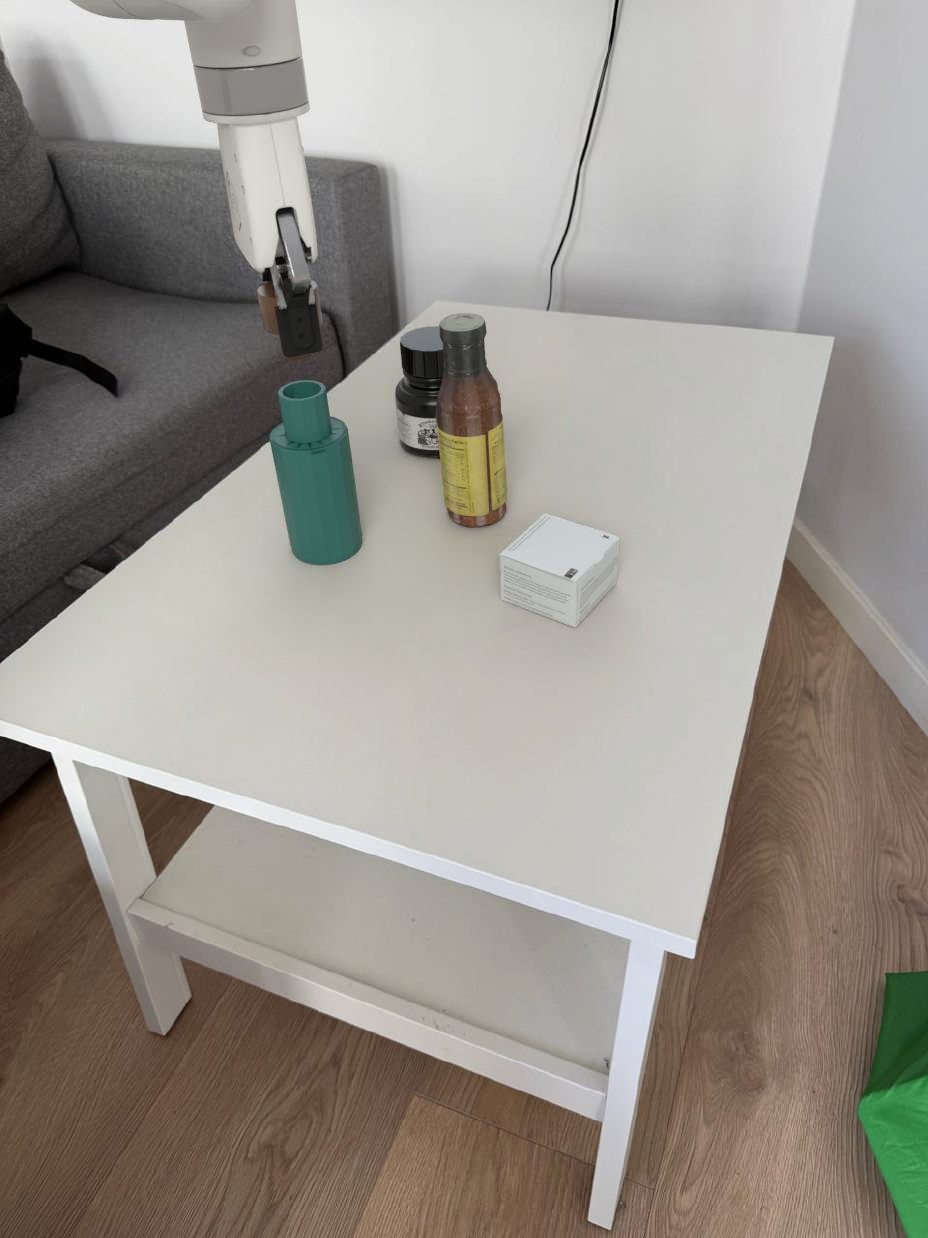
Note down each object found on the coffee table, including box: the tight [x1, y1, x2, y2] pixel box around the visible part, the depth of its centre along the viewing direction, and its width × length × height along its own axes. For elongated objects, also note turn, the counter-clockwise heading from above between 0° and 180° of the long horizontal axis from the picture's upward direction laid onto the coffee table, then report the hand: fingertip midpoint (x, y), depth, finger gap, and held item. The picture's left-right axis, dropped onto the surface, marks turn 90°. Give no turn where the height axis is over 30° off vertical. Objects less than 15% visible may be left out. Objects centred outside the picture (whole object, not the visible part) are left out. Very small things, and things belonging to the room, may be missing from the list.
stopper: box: [256, 278, 323, 361], centre depth 75 cm, size 5×5×6 cm
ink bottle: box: [394, 325, 444, 458], centre depth 100 cm, size 10×9×12 cm
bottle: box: [268, 379, 363, 566], centre depth 83 cm, size 7×7×16 cm
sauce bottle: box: [436, 312, 508, 528], centre depth 85 cm, size 7×6×20 cm
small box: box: [498, 512, 622, 628], centre depth 79 cm, size 8×8×5 cm
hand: (294, 338), depth 75 cm, fingers closed on stopper, 4 cm apart
